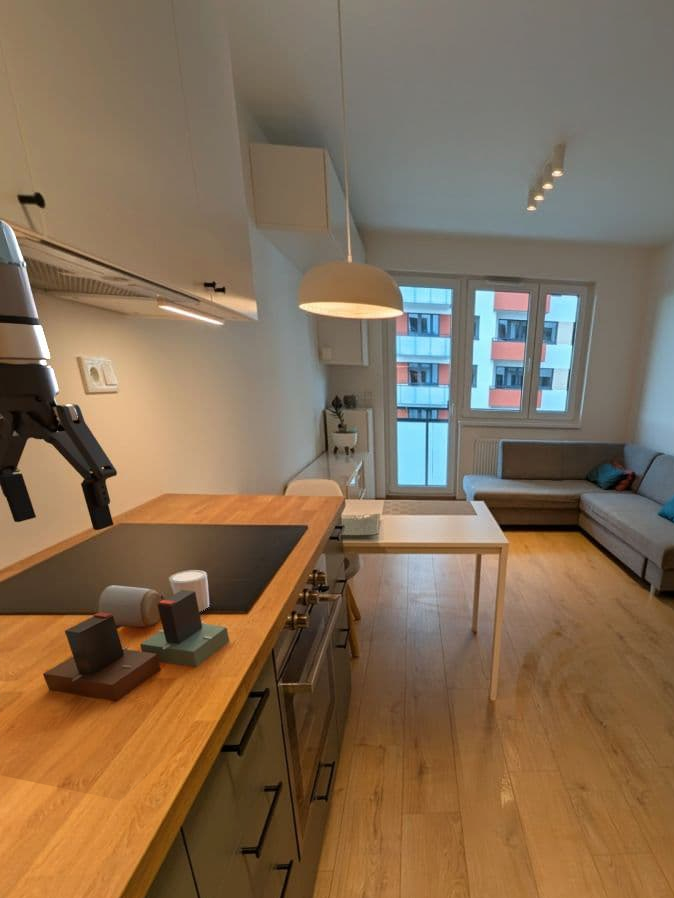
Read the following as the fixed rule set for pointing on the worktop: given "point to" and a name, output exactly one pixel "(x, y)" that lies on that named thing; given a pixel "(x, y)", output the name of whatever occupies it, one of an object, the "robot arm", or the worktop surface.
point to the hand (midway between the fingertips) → (64, 523)
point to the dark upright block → (180, 616)
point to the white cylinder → (192, 585)
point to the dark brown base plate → (104, 676)
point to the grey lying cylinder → (130, 605)
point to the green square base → (188, 646)
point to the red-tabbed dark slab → (94, 643)
